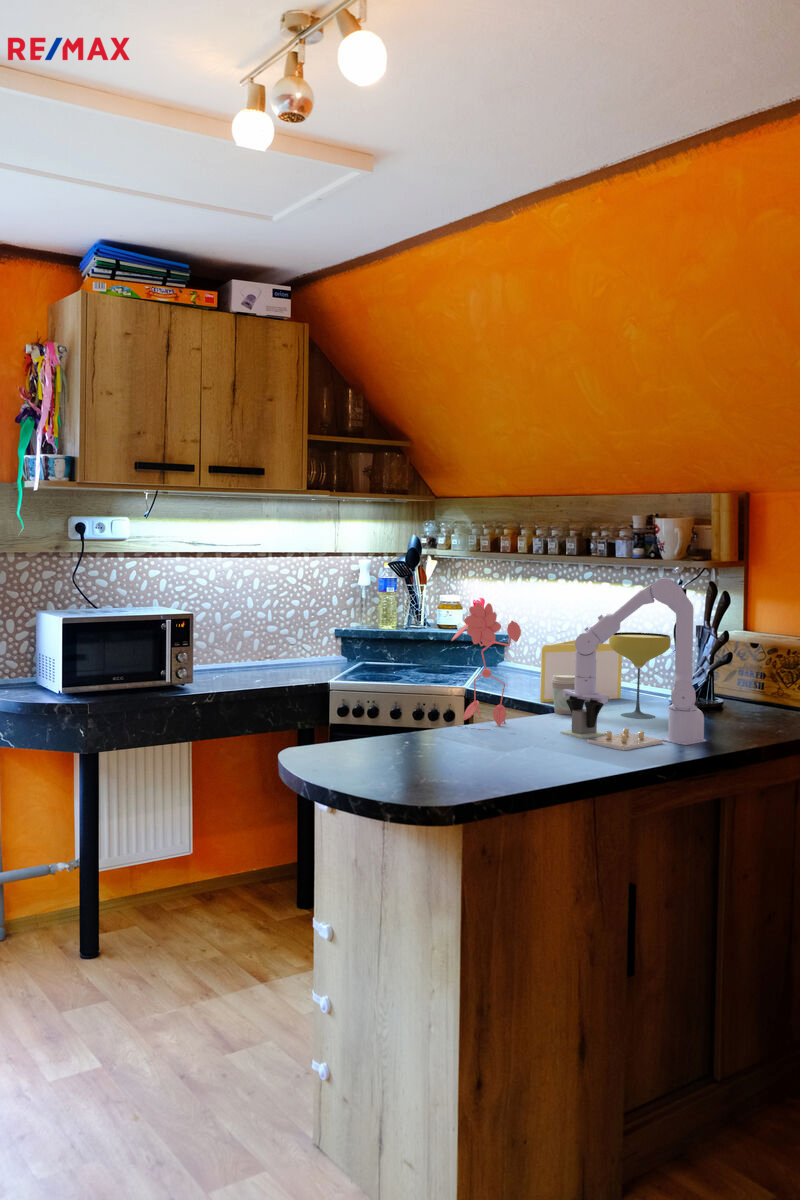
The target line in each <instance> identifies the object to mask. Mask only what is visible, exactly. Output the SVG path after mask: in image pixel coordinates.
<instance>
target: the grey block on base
mask: <svg viewBox="0 0 800 1200" xmlns="http://www.w3.org/2000/svg"><path fill="white" fill-rule="evenodd" d="M597 722H598V718H597V719H596V723H595V727H593V728H588V726H587V711H586V708H583V709H580V710H572V715H571V729H570V730H564V731H563V730H561V731H560V734H561V733H562V734H563V735H565V734H566V736H569V735H570V737H573V736H574V738H578V739H581V740H582V739H591V738H597V737H603V736H606V732H607V731H601V730H597V727H598V725H597V724H598V723H597Z"/></svg>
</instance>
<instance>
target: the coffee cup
mask: <svg viewBox="0 0 800 1200" xmlns="http://www.w3.org/2000/svg"><path fill="white" fill-rule="evenodd" d="M551 682H552V686H553V698H554V701H553V710H554V713H555V714H557V715H561V714H572V713H571V710H570V708H569V706H568V704H567V702H566V700H567V699H569V698H570V697H563V690H564V689H570V690H575V675H568V674H557V675H553V678H552V681H551Z"/></svg>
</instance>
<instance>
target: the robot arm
mask: <svg viewBox="0 0 800 1200" xmlns="http://www.w3.org/2000/svg"><path fill="white" fill-rule="evenodd" d="M655 600H656V601H657V602H660V603H661V604H663V605H666V607H667V606H668V608H669V609H670V610H671V611H673V613H674V614H675V655H674V657H675V660H674V661H675V663H674V664H675V666H674V668H675V669H674V673H675V674H674V684H673V687H672V688H671V691H670V699H671V703H672V704H670V705H668V727H667V728H668V730H667V734H668V735H667V737H664V738H661V740H663V742H667V743H672V744H678V745H682V746H688V745H695V744H701V743H705V742H707V739H705V738H704V735H705V732H704V731H705V715H704V713H703V711H702V710H700V709H699V708H698V706H697V705H696V704H695V703H696V700H697V697H696V695H697V694H696V689H695V687H694V685H693V661H694V660H693V659H694V657H693V656H694V655H693V652H694V650H693V649H694V604H693V603H692V601H691V600H690V599H689V598H688V596H687V594H686V593H685V591H684V590H683V589H682V587H681V585H680V584H678V583H677V582H675V581H674V580H673V579H671V578H669V577H660V578H657V580H655V582H653V583H651V584H648V585H647V586H646V587H643V589H641V590H639V591H638V592H637V593H635V594H634V595H633V596H632V597H631V598H629V600H628V601H626V602H625V603H624V604H622V606H620V607H619V608H618V609H617V610H616V611H615V612H614V613H604V614H600V615H599V616H598V617H597V620H596V621H595V622H594V623H593V624H591V625H590V626H589V627H588V626H586V627H585V628H584V631H585V632H582V633H580V634H579V635H578V636H577V637H576V638H575V640H576V641H575V648H576V650H577V651H576V660H575V690H570V689H564V690H563V697H570V698H569V699H567V700H566V702H567V704H568V706H569V708H570V710H571V713H572V710H580V709H584V706H585V709H586V711H587V726H588V728H593V727H595V723H596V719H597V720H598V717H599V715H600V714H599V713H600V712H601V709H602V708H603V706H605V705H604V704H609V699H608V696H607V695H602V694H599V693H596V662H597V661H596V651H595V650H596V649H597V647H598V644H605V642H606V641H609V638H610V637H611V636H613V635H614V634H615V633H619V631H620V629H621V624H622V622H623V621H624V620H626V619H627V618H628V617H630V616H631V615H632V614H633V613H635V612H636V611H638V610H639V609H640V608H641V607H642V606H645V605H648V604H654V603H655ZM585 697H588V698H585Z"/></svg>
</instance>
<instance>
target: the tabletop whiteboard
mask: <svg viewBox="0 0 800 1200" xmlns="http://www.w3.org/2000/svg"><path fill="white" fill-rule="evenodd" d="M575 641H576V639H572V640H567V641H562V642H556V643H551V644H544V645H543V646H542V647H541V653H540V654H541V655H540V656H541V657H540V683H539V684H540V688H539V701H540V703H549V702H551V703H552V702H553V703H554V698H553V686H552V682H551V681H552V678H553V675H557V674H568V675H575V660H576V651H577V650H576V648H575ZM595 651H596V661H597V662H596V693H599V694H602V695H607V696H608V700H611V699H620V698H621V695H622V694H621V693H622V692H621V691H622V668H623V666H622V665H623V664H622V662H623V656H622V655H620V654H619V653H617V652H616V651H614V650H613V649H612V648H611V647H610V644H609V642H608V643H605V642H604V643H603V644H598V647H597V649H596V650H595ZM585 698H588V697H585Z"/></svg>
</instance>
